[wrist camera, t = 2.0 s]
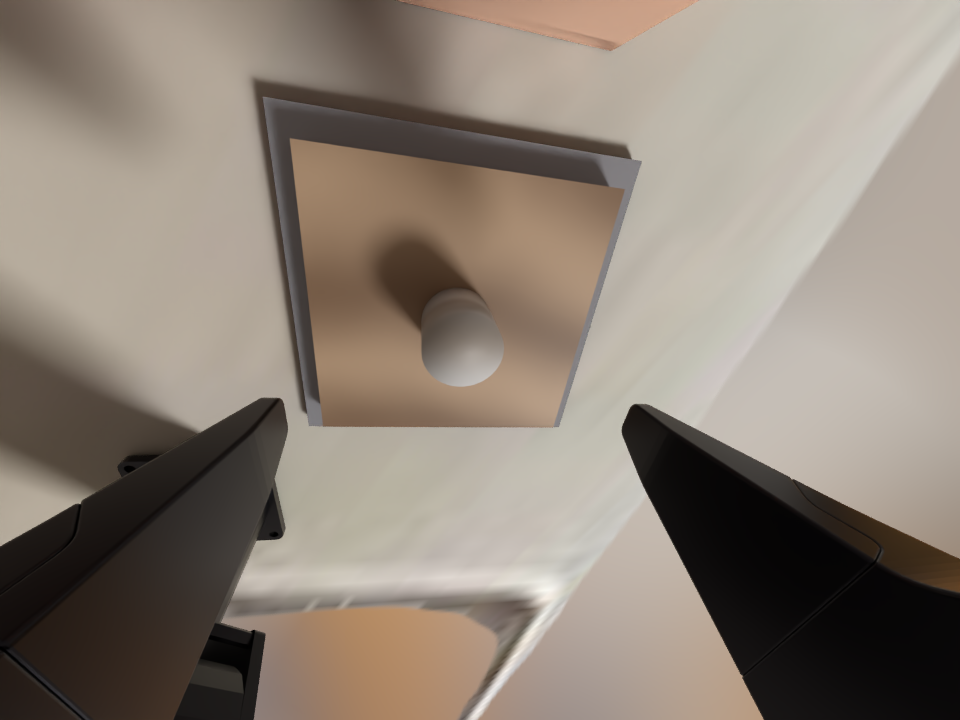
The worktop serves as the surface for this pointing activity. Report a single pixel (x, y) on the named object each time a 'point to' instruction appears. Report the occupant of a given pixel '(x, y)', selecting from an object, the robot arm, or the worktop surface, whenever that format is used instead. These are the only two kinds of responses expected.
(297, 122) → the rubber mat
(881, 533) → the robot arm
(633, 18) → the terracotta dish
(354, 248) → the walnut lid
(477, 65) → the worktop surface
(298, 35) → the worktop surface
